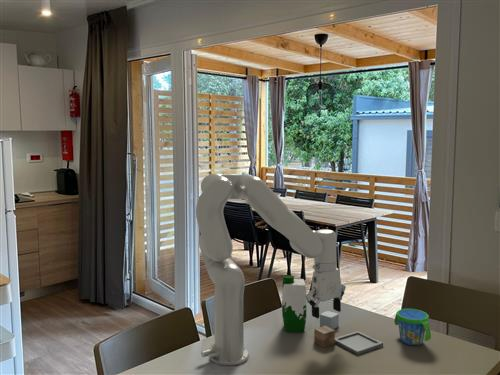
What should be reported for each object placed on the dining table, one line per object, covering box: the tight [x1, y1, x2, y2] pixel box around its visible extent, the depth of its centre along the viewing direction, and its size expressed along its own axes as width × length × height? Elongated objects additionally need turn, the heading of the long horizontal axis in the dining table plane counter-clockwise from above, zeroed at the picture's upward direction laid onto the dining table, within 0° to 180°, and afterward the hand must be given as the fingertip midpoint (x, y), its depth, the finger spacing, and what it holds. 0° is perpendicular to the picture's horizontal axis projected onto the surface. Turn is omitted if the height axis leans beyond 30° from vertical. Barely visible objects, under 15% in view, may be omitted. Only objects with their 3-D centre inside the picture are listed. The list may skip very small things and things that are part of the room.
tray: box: [335, 330, 384, 356], centre depth 167 cm, size 12×12×1 cm
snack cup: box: [393, 308, 432, 346], centre depth 168 cm, size 16×10×10 cm
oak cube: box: [313, 326, 336, 348], centre depth 168 cm, size 5×5×5 cm
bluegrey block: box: [319, 310, 340, 330], centre depth 183 cm, size 5×5×5 cm
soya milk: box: [281, 274, 307, 333], centre depth 180 cm, size 9×9×20 cm
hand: (326, 313), depth 168 cm, fingers open, 9 cm apart
